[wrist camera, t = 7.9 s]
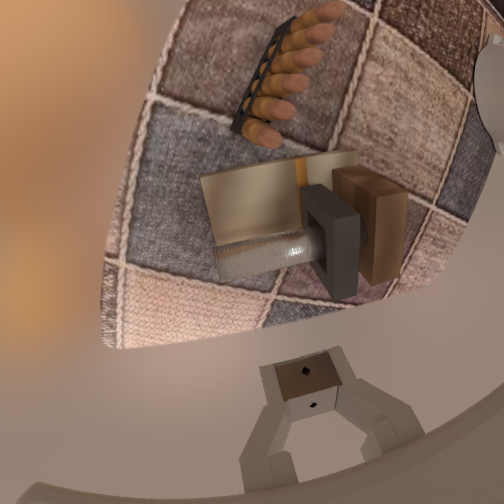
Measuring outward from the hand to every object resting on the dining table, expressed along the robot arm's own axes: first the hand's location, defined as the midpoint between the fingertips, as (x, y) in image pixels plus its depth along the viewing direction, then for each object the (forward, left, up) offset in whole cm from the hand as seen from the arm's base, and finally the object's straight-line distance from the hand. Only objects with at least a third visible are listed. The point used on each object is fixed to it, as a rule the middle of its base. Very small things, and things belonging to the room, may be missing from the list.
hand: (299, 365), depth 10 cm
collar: (-6, +3, -17) cm, 18 cm away
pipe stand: (-5, +3, -20) cm, 20 cm away
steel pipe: (-4, +3, -15) cm, 15 cm away
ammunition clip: (-4, -10, -20) cm, 23 cm away
